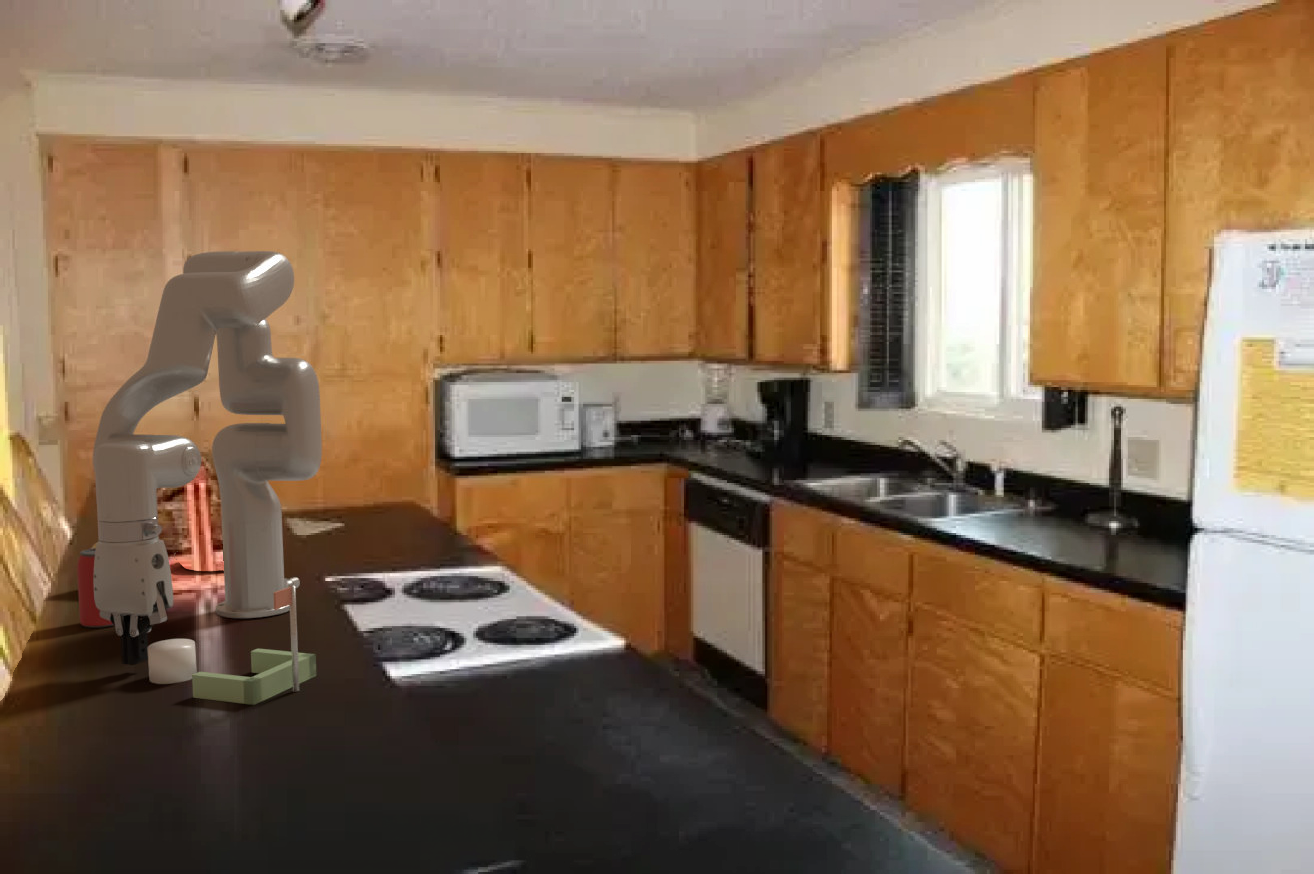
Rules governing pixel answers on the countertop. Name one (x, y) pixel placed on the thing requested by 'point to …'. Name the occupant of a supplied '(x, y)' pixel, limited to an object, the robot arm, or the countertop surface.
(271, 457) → the robot arm
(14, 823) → the countertop surface
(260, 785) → the countertop surface
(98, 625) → the beer can
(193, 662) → the white domed cylinder
